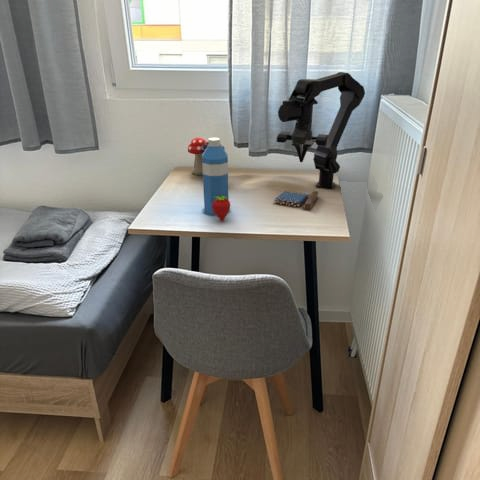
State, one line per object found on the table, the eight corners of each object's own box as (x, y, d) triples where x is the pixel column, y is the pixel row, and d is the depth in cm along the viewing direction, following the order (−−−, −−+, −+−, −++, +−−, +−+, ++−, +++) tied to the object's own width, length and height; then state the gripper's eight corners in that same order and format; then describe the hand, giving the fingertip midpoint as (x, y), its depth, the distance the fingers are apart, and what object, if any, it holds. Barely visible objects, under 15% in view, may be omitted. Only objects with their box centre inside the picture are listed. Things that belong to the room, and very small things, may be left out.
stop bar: (312, 197, 187) (312, 190, 186) (317, 197, 187) (318, 191, 185) (304, 209, 176) (304, 203, 175) (309, 210, 176) (310, 203, 175)
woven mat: (283, 195, 189) (283, 189, 188) (309, 199, 185) (309, 193, 184) (272, 203, 182) (273, 198, 181) (299, 208, 178) (299, 202, 176)
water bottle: (233, 207, 178) (232, 136, 164) (224, 217, 171) (222, 143, 157) (209, 204, 181) (206, 134, 167) (199, 213, 174) (195, 141, 160)
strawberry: (209, 223, 166) (207, 194, 161) (218, 215, 172) (217, 187, 167) (224, 225, 164) (224, 197, 159) (233, 218, 170) (233, 190, 165)
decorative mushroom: (214, 171, 215) (213, 136, 206) (206, 177, 208) (205, 141, 200) (194, 169, 218) (192, 134, 209) (185, 175, 211) (183, 139, 203)
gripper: (273, 121, 172) (271, 165, 181) (325, 124, 167) (321, 170, 176) (281, 115, 181) (279, 157, 190) (331, 118, 176) (327, 162, 185)
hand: (301, 162), depth 185 cm, fingers closed
